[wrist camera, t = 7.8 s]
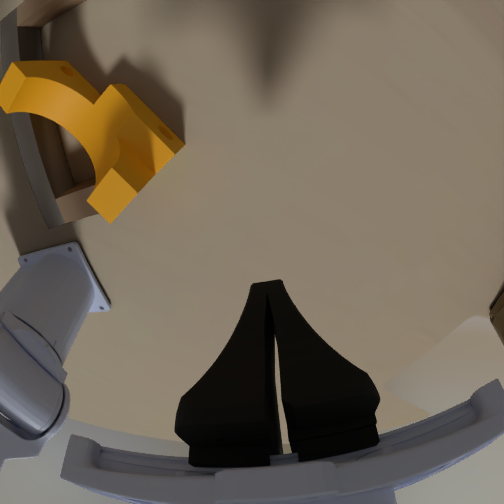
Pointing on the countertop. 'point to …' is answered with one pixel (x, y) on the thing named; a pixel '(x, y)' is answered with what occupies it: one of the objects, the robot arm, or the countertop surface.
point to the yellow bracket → (95, 127)
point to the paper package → (498, 317)
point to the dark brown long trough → (43, 120)
